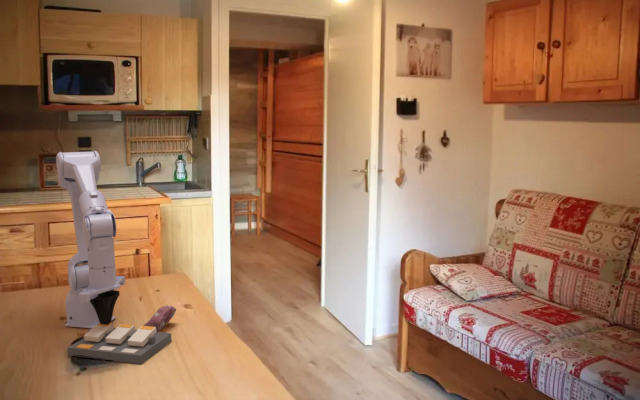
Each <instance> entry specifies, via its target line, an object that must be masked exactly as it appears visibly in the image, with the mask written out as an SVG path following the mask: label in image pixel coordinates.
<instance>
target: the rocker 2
mask: <svg viewBox="0 0 640 400" xmlns="http://www.w3.org/2000/svg"><path fill="white" fill-rule="evenodd" d="M115 328H116V329H115V330H113V331H112V332H111V333H110V334H109V335H108V336H107V337H106V338H105V339H106V343H115V344H121V343H122V342H123V341H124V340H125V339H126V338H127V336H128V335H129V334H132V333H133V332H134V331H135V330H136V326H135V325H133V324H124V323H123V324H122V323H120V324H119V325H118V326H117V327H115Z"/></svg>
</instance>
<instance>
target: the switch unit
mask: <svg viewBox="0 0 640 400" xmlns="http://www.w3.org/2000/svg"><path fill="white" fill-rule="evenodd" d="M116 328H117V327H114V329H112V330H111V331H110V332H107V333H106V334H105V335H106V336H105V337H104V338H102V339H101V340H100V341H99V342H95V341H85V340H84V337H83V338H82V339H80V340H78V341H76V342H75V343H73V344H71V345H69V346H68V347H66V348H67V350H66V351H67V357H68V358H69V357H70V358H73V357H72V356H74V355H84V356H92V357H101V358H105V359H110V360H113V361H112V362H114V363H115V362H116V363H125V364H132V365H133V364H135V365H142V364H144V363H145V362H146V361H148V360H149V359H151V358H152V357H154V356H155V355H156V354H157V353H158V352H160V351H162V349H164V348H165V347H166V346H168V345H169V344H170V343H171V342H172V333H171V332H165V331H164V332H163V331H159V332H156V333H155V334H154V335H153V336H151V337H150V338H149V341H148V342H147V343H146V344H145V345H144V346H143V347H141V346H132V345H128V341H127V340H128V339H129V338H130V337H131V336H132V335H133V334H134V333H135V332H136V331H137V330H138V329H135V331H134V332H133V333H132V334H129V335H128V336H127V338H126V339H125V340H124V341H123V342H122V343H121V344H115V343H106V339H105V338H106V337H107V336H108V335H109V334H110V333H111V332H112V331H113V330H115V329H116ZM90 330H91V329H89V330H88V331H86V333H88V332H89V331H90Z"/></svg>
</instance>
